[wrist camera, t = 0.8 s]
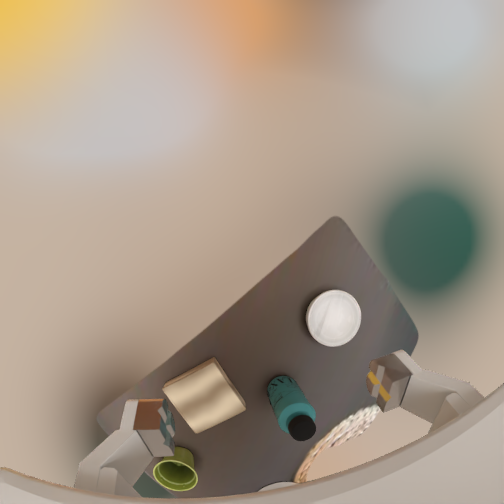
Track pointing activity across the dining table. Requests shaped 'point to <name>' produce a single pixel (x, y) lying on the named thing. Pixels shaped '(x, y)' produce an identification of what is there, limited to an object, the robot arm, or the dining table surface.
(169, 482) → the plant pot
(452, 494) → the robot arm
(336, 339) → the ramekin
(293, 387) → the beverage bottle
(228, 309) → the dining table surface
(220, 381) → the birch base
